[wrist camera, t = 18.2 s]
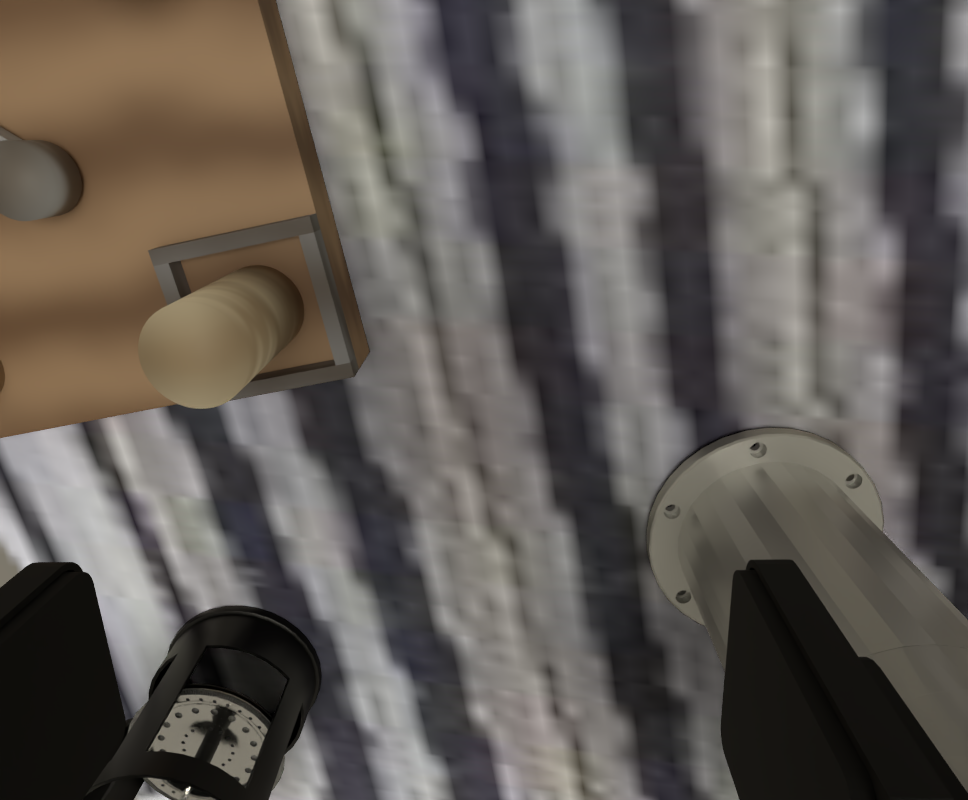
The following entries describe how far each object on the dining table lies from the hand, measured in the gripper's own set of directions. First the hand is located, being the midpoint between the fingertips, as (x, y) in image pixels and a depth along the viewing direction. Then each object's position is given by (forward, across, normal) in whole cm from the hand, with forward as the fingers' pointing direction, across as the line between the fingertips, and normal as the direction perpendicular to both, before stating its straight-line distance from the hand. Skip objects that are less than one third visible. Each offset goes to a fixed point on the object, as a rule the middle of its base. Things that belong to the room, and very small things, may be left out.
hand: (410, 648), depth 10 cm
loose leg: (+24, +11, -1) cm, 26 cm away
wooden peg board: (+27, +19, -7) cm, 34 cm away
